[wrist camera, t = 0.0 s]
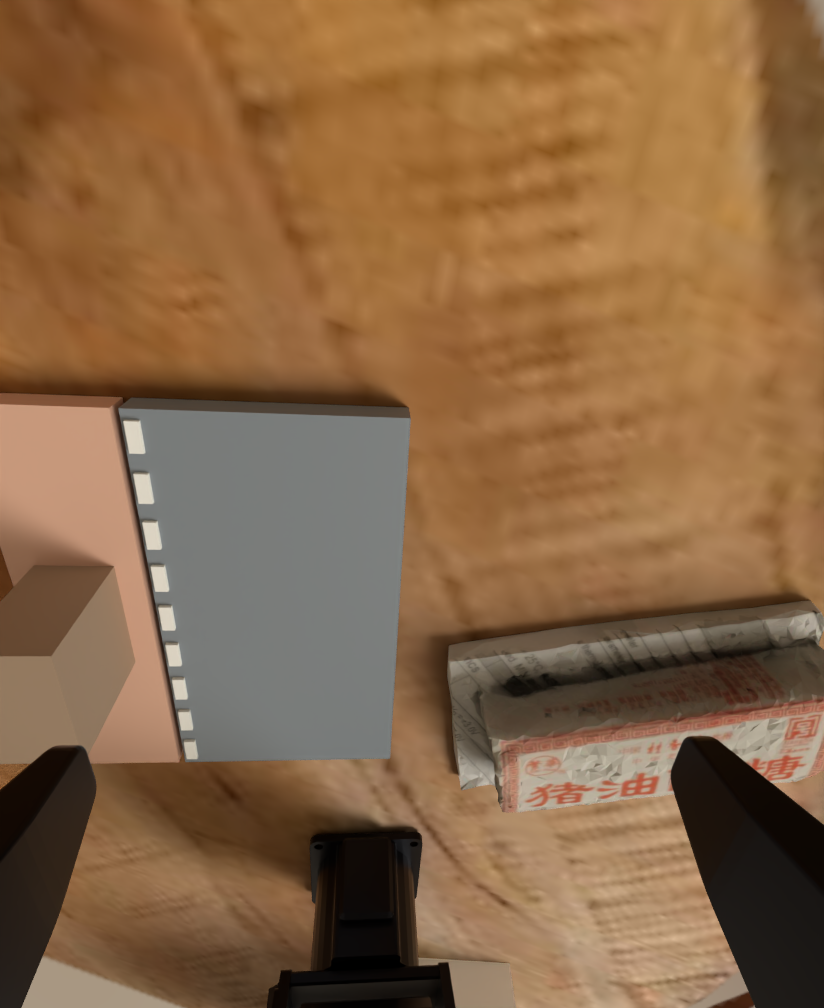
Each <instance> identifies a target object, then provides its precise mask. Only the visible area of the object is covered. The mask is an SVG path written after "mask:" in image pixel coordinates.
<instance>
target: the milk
mask: <svg viewBox="0 0 824 1008" xmlns="http://www.w3.org/2000/svg"><path fill="white" fill-rule="evenodd" d="M418 960H419V966H422V965H438V963H439V962H448V963H449V969H450V975H451V982H452V988H453V994H454V1001H455V1007H456V1008H516V1005H515V997H514V990H513V983H512V976H511V969H510V963H498V962H482V961H466V960H450V959H434V958H418Z"/></svg>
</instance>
